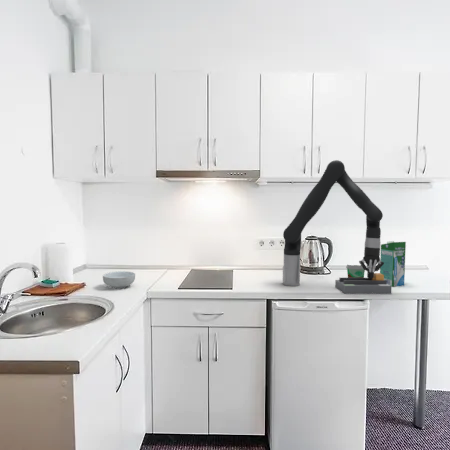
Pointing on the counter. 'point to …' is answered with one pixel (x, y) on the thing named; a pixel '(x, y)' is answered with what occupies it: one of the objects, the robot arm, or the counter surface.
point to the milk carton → (393, 262)
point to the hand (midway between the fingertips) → (370, 278)
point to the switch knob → (378, 276)
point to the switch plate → (362, 286)
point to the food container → (355, 271)
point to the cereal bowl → (119, 279)
